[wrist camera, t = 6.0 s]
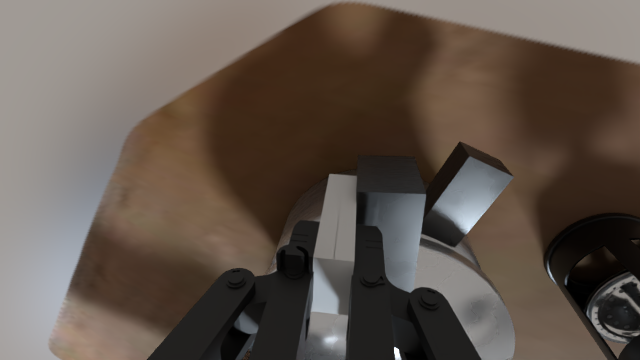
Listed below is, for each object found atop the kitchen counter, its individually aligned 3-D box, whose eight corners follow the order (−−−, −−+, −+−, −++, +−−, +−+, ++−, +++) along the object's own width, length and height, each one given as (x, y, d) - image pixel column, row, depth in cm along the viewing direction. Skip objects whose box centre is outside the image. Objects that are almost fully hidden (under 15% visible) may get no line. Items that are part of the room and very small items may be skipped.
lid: (479, 417, 30) (498, 487, 25) (263, 394, 32) (247, 455, 28) (568, 153, 18) (629, 201, 14) (221, 146, 20) (183, 185, 16)
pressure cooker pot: (387, 350, 42) (393, 443, 33) (250, 295, 40) (218, 378, 32) (550, 164, 29) (630, 236, 20) (356, 71, 27) (353, 106, 19)
